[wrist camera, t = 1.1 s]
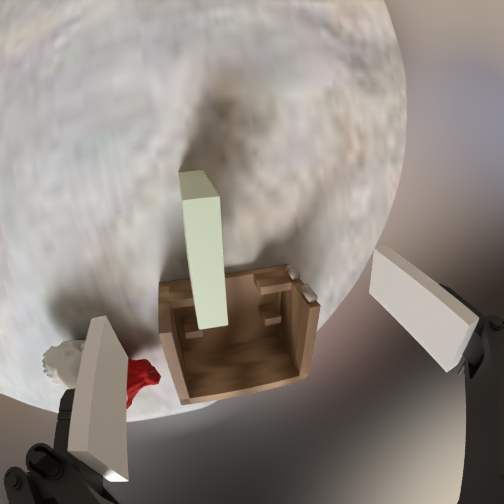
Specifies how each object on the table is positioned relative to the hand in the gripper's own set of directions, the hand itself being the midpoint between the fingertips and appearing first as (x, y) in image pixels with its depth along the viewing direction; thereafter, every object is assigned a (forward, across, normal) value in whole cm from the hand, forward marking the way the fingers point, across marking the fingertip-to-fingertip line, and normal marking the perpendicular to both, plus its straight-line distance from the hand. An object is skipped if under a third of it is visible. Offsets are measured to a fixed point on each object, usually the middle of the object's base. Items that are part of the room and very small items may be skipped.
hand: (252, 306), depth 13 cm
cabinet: (+19, 0, -16) cm, 25 cm away
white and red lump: (+20, -18, -19) cm, 33 cm away
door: (+19, -1, -3) cm, 20 cm away
